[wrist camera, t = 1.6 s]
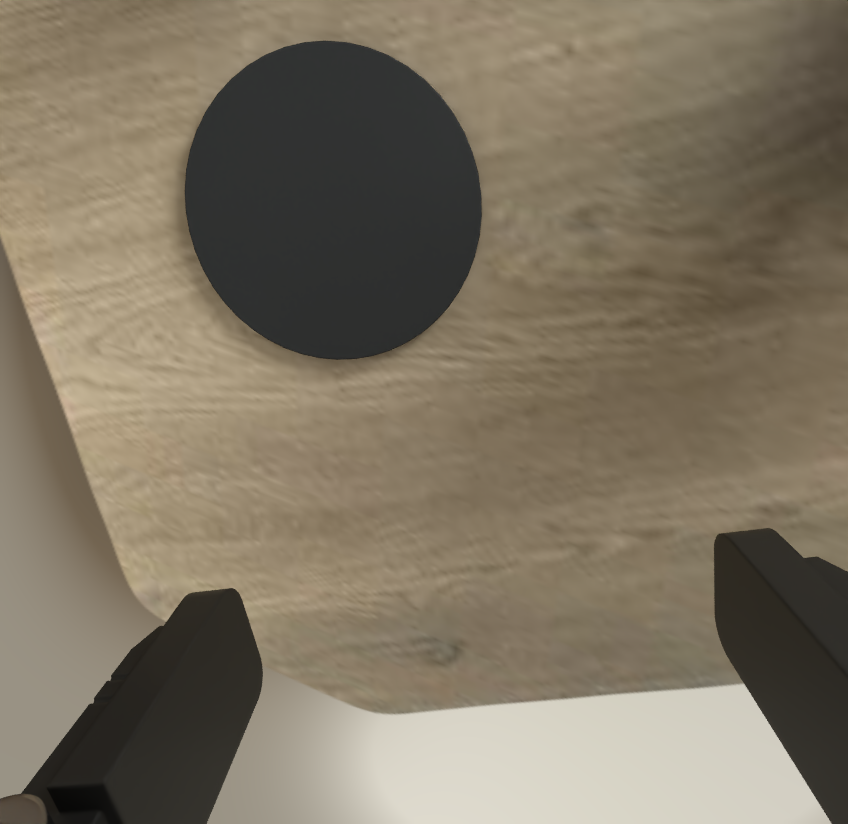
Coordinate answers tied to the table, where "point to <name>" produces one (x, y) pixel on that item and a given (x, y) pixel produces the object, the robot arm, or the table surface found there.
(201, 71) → the table surface
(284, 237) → the mat
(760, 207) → the table surface
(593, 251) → the table surface
